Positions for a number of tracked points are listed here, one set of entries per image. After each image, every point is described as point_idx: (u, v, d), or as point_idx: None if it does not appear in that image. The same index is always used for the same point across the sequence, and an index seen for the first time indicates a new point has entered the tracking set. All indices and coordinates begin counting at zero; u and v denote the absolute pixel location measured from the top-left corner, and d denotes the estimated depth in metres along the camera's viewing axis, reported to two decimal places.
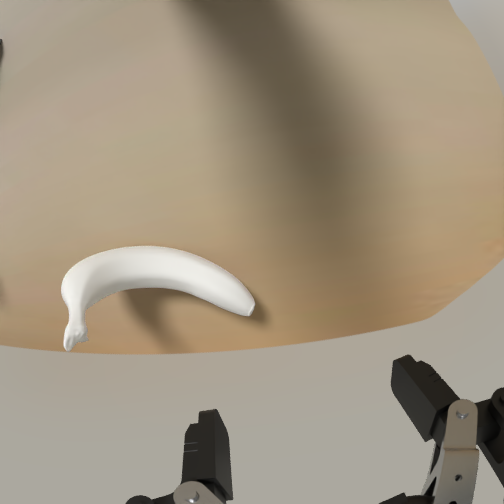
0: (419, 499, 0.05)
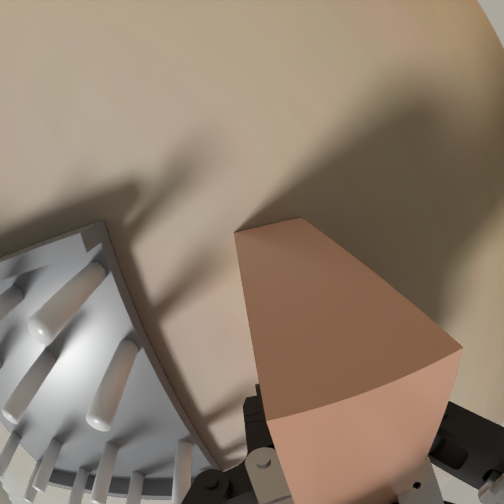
0: None
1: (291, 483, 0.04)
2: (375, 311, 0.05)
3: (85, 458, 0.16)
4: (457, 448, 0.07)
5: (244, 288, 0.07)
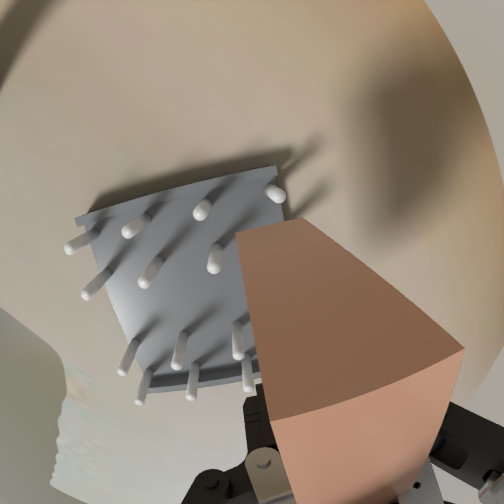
0: None
1: (293, 483, 0.04)
2: (377, 312, 0.05)
3: (204, 348, 0.29)
4: (457, 448, 0.07)
5: (246, 288, 0.07)
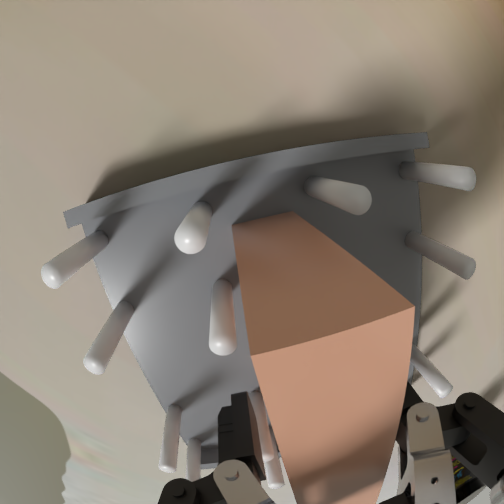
0: None
1: (276, 428, 0.05)
2: (344, 280, 0.06)
3: None
4: (478, 444, 0.07)
5: (238, 267, 0.08)
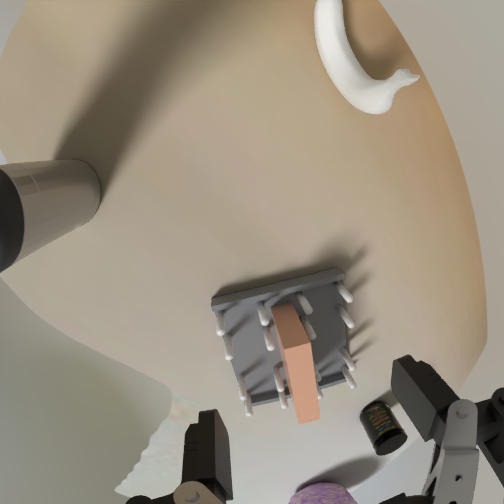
0: (419, 499, 0.05)
1: (287, 363, 0.31)
2: (300, 335, 0.32)
3: None
4: None
5: (277, 329, 0.35)
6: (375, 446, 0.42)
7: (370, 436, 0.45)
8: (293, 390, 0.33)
